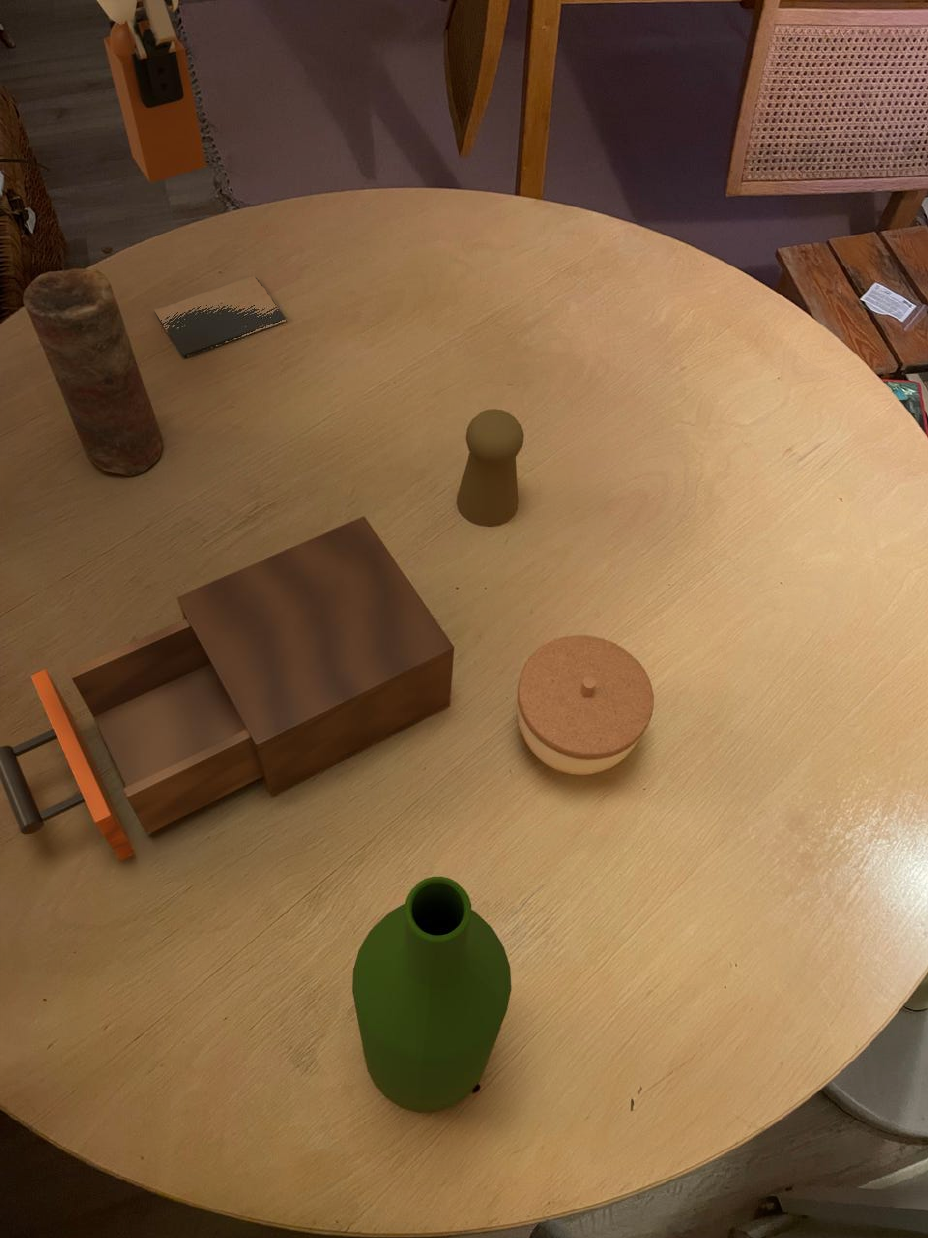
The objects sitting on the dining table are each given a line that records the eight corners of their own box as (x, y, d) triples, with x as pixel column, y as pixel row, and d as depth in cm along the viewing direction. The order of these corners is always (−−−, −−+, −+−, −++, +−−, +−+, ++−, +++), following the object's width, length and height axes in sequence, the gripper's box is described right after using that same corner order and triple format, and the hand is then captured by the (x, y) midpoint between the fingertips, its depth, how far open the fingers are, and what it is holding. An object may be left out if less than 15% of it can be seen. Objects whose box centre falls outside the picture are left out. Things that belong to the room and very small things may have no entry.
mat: (183, 358, 109) (182, 355, 109) (154, 312, 113) (153, 309, 113) (286, 321, 113) (286, 318, 113) (255, 278, 117) (254, 274, 116)
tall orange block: (150, 183, 86) (115, 36, 76) (132, 156, 87) (96, 10, 77) (206, 166, 87) (180, 21, 77) (188, 141, 89) (160, -5, 79)
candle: (72, 468, 101) (4, 306, 84) (104, 415, 105) (45, 249, 88) (146, 485, 100) (93, 325, 83) (175, 431, 104) (130, 267, 87)
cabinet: (271, 797, 84) (256, 745, 75) (197, 659, 90) (176, 597, 82) (450, 706, 89) (454, 647, 81) (367, 581, 95) (364, 515, 87)
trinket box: (542, 661, 92) (555, 602, 84) (654, 713, 89) (679, 658, 81) (488, 758, 86) (496, 706, 78) (605, 817, 84) (626, 769, 76)
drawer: (56, 893, 78) (24, 857, 71) (-2, 750, 84) (-37, 704, 77) (304, 767, 84) (296, 723, 77) (234, 642, 90) (221, 591, 83)
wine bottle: (477, 972, 77) (517, 802, 50) (498, 1102, 72) (554, 995, 45) (357, 990, 76) (330, 826, 48) (371, 1123, 71) (348, 1026, 44)
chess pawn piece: (447, 486, 102) (452, 407, 93) (504, 471, 103) (514, 392, 94) (469, 533, 99) (476, 456, 90) (527, 517, 100) (540, 440, 91)
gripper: (-6, -232, 69) (70, 44, 84) (79, -125, 61) (145, 156, 77) (104, -249, 71) (158, 23, 87) (198, -148, 64) (239, 130, 79)
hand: (151, 83), depth 82 cm, fingers closed on tall orange block, 4 cm apart
